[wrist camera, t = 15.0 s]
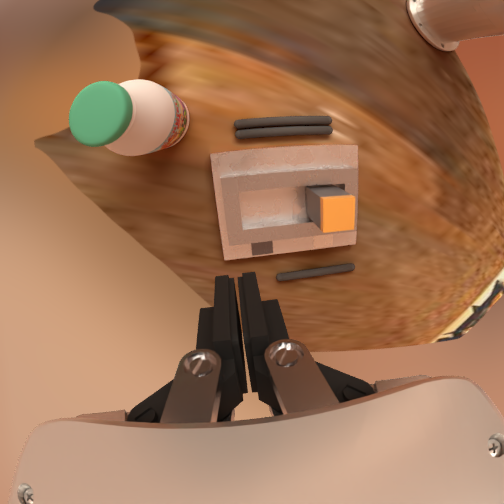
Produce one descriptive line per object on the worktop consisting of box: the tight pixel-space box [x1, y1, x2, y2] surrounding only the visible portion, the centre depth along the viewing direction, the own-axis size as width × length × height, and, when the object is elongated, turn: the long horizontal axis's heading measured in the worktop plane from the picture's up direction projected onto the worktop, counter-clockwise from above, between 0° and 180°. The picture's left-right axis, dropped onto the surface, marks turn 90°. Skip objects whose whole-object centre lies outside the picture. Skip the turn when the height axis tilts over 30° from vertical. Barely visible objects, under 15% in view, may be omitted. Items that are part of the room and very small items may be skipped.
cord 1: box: [234, 116, 333, 139], centre depth 33 cm, size 13×3×1 cm, turn 95°
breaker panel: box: [210, 145, 358, 260], centre depth 36 cm, size 15×20×4 cm
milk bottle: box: [69, 80, 189, 156], centre depth 22 cm, size 8×8×20 cm
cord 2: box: [276, 263, 355, 281], centre depth 42 cm, size 13×1×1 cm, turn 95°
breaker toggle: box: [306, 185, 355, 233], centre depth 33 cm, size 4×4×7 cm
